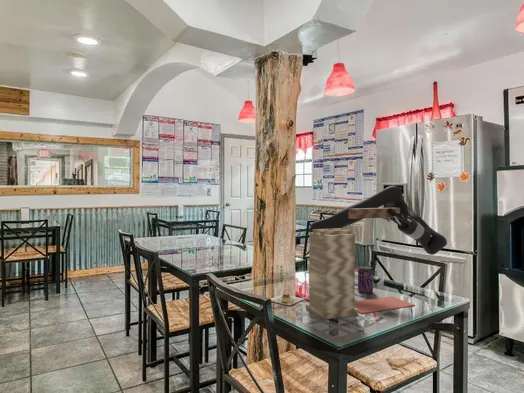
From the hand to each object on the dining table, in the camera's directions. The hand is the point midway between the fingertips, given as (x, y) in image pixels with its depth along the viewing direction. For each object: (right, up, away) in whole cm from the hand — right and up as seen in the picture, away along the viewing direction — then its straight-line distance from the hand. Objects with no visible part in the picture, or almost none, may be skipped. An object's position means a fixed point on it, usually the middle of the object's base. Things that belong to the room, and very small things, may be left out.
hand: (384, 209), depth 159 cm
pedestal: (-25, -41, -9) cm, 49 cm away
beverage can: (-3, -41, +20) cm, 46 cm away
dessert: (-43, -42, +5) cm, 60 cm away
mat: (-3, -41, -1) cm, 41 cm away
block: (-5, -3, -2) cm, 6 cm away
